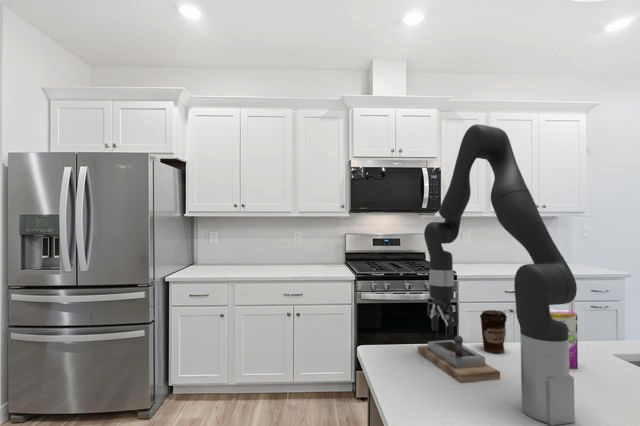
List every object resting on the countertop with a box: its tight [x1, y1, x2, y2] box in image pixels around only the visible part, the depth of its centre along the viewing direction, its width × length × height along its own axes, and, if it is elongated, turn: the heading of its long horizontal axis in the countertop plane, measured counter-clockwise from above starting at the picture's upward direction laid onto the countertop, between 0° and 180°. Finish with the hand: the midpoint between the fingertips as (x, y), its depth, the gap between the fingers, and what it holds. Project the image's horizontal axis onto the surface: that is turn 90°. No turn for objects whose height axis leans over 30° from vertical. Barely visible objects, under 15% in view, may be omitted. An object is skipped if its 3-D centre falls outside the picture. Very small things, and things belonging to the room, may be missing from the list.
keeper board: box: [417, 335, 501, 384], centre depth 108 cm, size 24×12×9 cm, turn 12°
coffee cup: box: [479, 309, 508, 354], centre depth 121 cm, size 9×8×13 cm
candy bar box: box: [550, 309, 579, 369], centre depth 108 cm, size 11×5×16 cm, turn 84°
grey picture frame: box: [427, 339, 486, 369], centre depth 108 cm, size 16×9×3 cm, turn 12°
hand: (442, 334), depth 115 cm, fingers open, 8 cm apart
